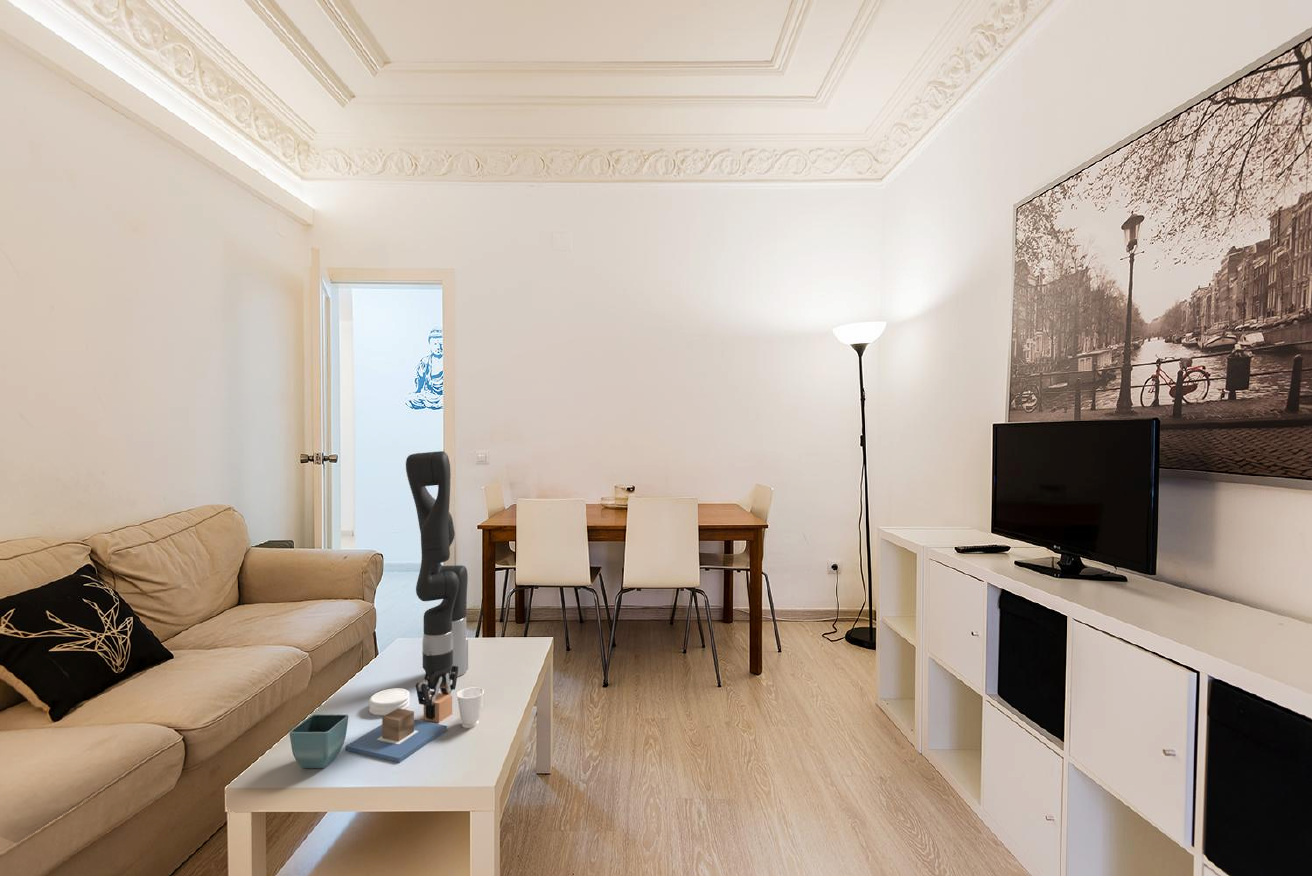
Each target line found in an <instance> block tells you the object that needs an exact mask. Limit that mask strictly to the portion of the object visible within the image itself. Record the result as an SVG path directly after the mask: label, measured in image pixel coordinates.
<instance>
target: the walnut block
mask: <svg viewBox="0 0 1312 876" xmlns="http://www.w3.org/2000/svg"><path fill="white" fill-rule="evenodd" d="M381 719H382V720H381V725H382V738H384V739H389V740H394V741H398V742H399V741H401V740H402V739H404V738H405V737H407V736H408V735H410V734H411V733H413V732H414V719H415V711H414V710H410V709H409V710H408V709H405V710H404V709H399V708H397V709H396V710H394V711H392V712H390V713H389V714H387V715H385V716H381Z"/></svg>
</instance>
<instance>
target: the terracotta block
mask: <svg viewBox="0 0 1312 876" xmlns="http://www.w3.org/2000/svg"><path fill="white" fill-rule="evenodd" d="M431 696H432V695H430V697H429V699H431ZM434 704H435V718H433V719H428V718H427V717H426V705H423V721H424V720H425V721H427V722H433V723H438V724H439V723H441V722H442V721H444V720H445V719H447V718H449V717H451V716H452V715H453V695H452V694H450V695H447V694H442V693H441V692H440V693H439V692H438V695H436V698H435V703H434Z"/></svg>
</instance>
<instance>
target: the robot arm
mask: <svg viewBox="0 0 1312 876" xmlns="http://www.w3.org/2000/svg"><path fill="white" fill-rule="evenodd" d="M405 472H406V476H407V480H408V484H409V488H410V491H411V493H412V498H413V500H414V505H415V508H416V509H415V510H416V515H417V521H418V526H419V527H418V528H419V531H420V532H419V533H420V546H421V547H420V549H421V550H420V551H421V563H420V570H419V574H418V577H417V581H416V586H415V592H416V596H417V598H418V599H419V600H420V601H422V602H432V601H438V600H439V601H440V600H442V601H441V602H440V603H439V604H438V605H435V606H434V607H431V608H429V609H427V610H425V611H424V613H423V635H422V636H423V637H422V668H423V670H424V672H425V675H424V678H423V680H422V681H420V682H417V683H415V688H416V694H417V700H418V703H419V705H423V706H424V705H426V717H427V718H428V719H433V718H435V704H434V703H435V698H436V695H438V693H439V692H440V693H441V694H447V695H452V691H453V690H455V689H456V688H457V687H456V686H457V679H458V677H460V676H463V675H464V674H465V673H467V670H468V669H469V639H468V638H467V608H468V607H467V604H468V602H467V600H468V599H467V597H468V594H467V593H468V584H469V583H468V580H469V579H468V569H467V568H466V566H465V565H460V564H459V565H442V563H445V562H447V561H449V560H450V557H451V550H450V548H451V546H452V544H453V542H454V540H455V536H456V533H455V526H454V520H453V516H452V514H451V513H450V501H451V500H450V499H451V479H452V477H451V474H452V473H451V464H450V458H449V456H448V453H446V452H445V451H443V450H442V451H440V450H439V451H430V452H429V451H428V452H418V453H412V454H411V453H410V454H408V456H407V458H406V460H405ZM432 486H437V487H438V488H437V496H436V498H434V497H433V496H432V495H431V494H430V492H429V490H428V489H427V487H432ZM451 681H452V682H451ZM430 696H431V699H429V697H430Z"/></svg>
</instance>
